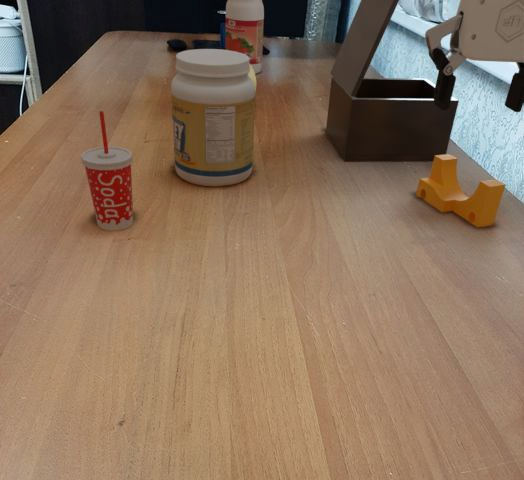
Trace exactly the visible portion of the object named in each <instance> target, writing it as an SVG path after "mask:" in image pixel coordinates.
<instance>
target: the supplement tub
mask: <svg viewBox="0 0 524 480" xmlns="http://www.w3.org/2000/svg"><path fill="white" fill-rule="evenodd" d="M174 67H175V69H174V70H176V71H177V73H176V75H174V77H173V78H172V80H171V83H170V96H171V97H170V98H171V99H170V100H171V116H172V134H173V135H172V136H173V137H172V138H173V155H174V169H175V172H176V174H177V176H178V177H180V178H181V179H183V180H184V181H185V182H188V183H190V184H193V185H196V186H202V187H225V186H232V185H236V184H240V183H242V182H244V181H245V180H247V179H248V178H249V177H250V176H251V174H252V171H253V168H254V135H255V108H256V107H255V104H256V92H255V85H254V83H253V81H252V79H251V78H250V77H249V76H248V73H249V72H250V67H249V57H248V56H247V55H245V54H243V53H239V52H235V51H230V50H226V49H221V48H220V49H219V48H196V49H186V50H183V51H179V52H178V53H176V55H175V66H174Z"/></svg>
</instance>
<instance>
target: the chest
mask: <svg viewBox="0 0 524 480" xmlns="http://www.w3.org/2000/svg"><path fill="white" fill-rule="evenodd" d="M435 86H436V83H434V82H433V81H431V80H430V79H428V78H417V77H416V78H415V77H413V78H409V77H407V78H406V77H405V78H404V77H364V78H363V81H362V83H361V85H360V87H359V89H358V92H357V94H356V96H355V97H353V96H351V95H350V94H349V93H348V92H347V91H346V90H345V89H344V88H343V87H342V86H341V85H340V83H339V82H338V81H337V80H336V79H335V78H334V77H333V76H332V77H331V80H330V88H329V89H330V90H329V99H328V101H329V102H328V107H327V118H326V125H325V126H326V127H325V135H326V136H327V138H328V139H329V141H330V143H331V144H332V146H333V147H334V148H335V150H336V151H337V152H338V154H339V156H340V157H341V159H342V160H343V162H433V161H434V156H435V155H444V154H447V152H448V148H449V145H450V144H449V143H450V139H451V135H452V131H453V128H454V122H455V120H456V119H455V118H456V114H457V110H458V106H459V102H460V100H459V99H458V98H456V97H454V96H453V95H452V98H451V102H450V106H449V109H447V110H441V109H440V108H439V107H437V106H436V105H435V103H434V102H435V100H434V99H433V95H434V90H435Z"/></svg>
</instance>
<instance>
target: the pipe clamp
mask: <svg viewBox="0 0 524 480" xmlns="http://www.w3.org/2000/svg"><path fill="white" fill-rule="evenodd" d="M457 164H458V157H456V156H454V155H453V154H451V153H446V154H444V155H435V156H434V161H432V165H431V169H430V174H429V177H422V178H419V180H418V184H417V188H416V193H415V197H419V198H421V199H422V200H423V201H425V202H427V204H429V205H431V206H432V207H433V208H435V209H436V210H438V211H440V212H441V213H447V212H454V213H455V214H456V215H458V216H460V217H461V218H463V220H465V221H467V222H469V223H470V224H471V225H473V226H474V227H476V228H483V227H489V226H494V222H495V220H496V216H497V213H498V210H499V207H500V204H501V200H502V197H503V195H504V190H505V187H506V184H505V183H503V182H502V181H500V180H498V179H496V178H494V179H487V180H479V182H478V185H477V187H476V190H475V191H474V193H473V194H472V195H470V196H468V195H467V194H465V192H464V191H463V190H462V188H461V186H460V184H459V180H458V173H457Z"/></svg>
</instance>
